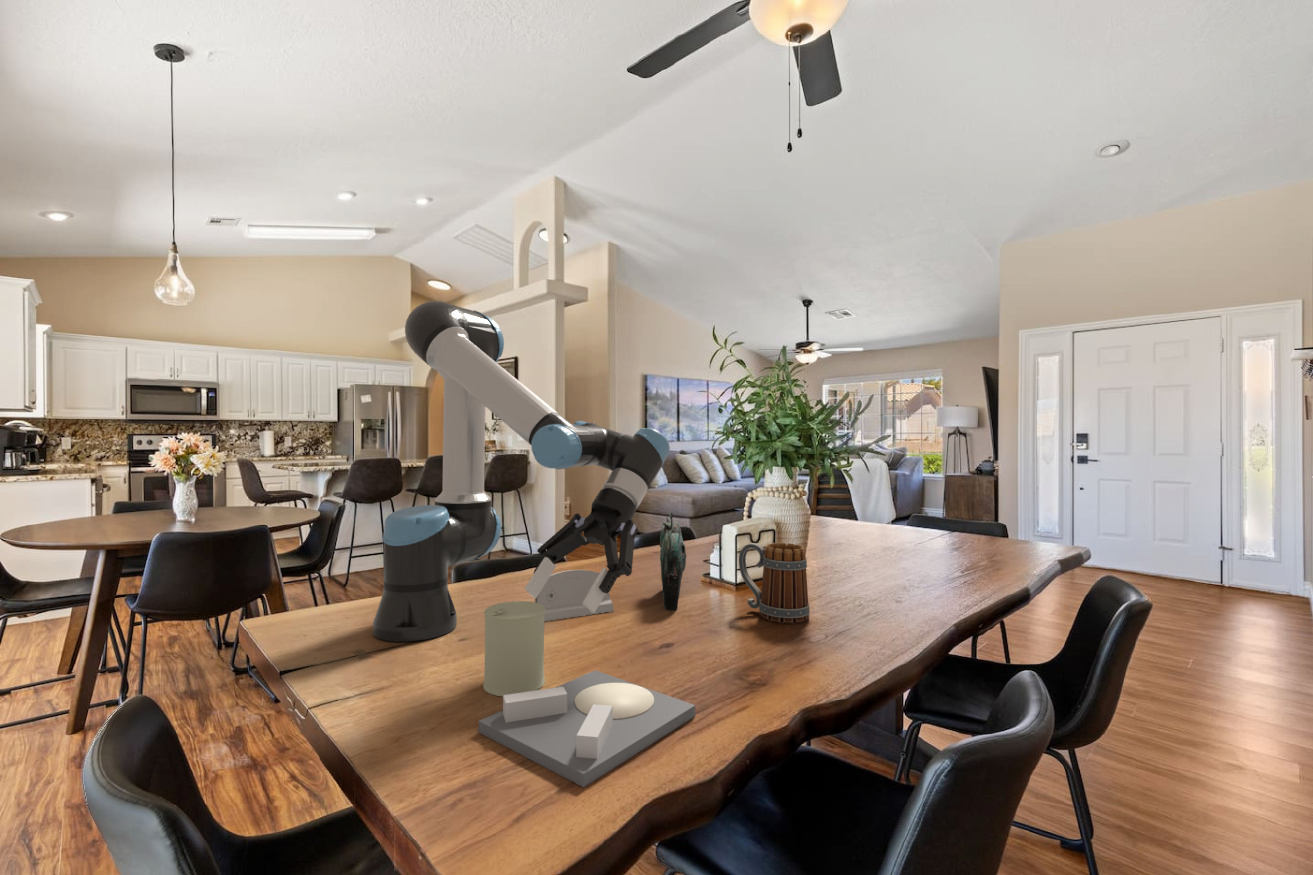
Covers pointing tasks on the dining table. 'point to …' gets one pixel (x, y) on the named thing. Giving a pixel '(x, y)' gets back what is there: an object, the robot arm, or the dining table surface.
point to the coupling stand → (585, 724)
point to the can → (514, 648)
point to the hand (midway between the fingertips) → (557, 600)
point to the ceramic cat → (671, 562)
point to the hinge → (570, 595)
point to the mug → (779, 582)
